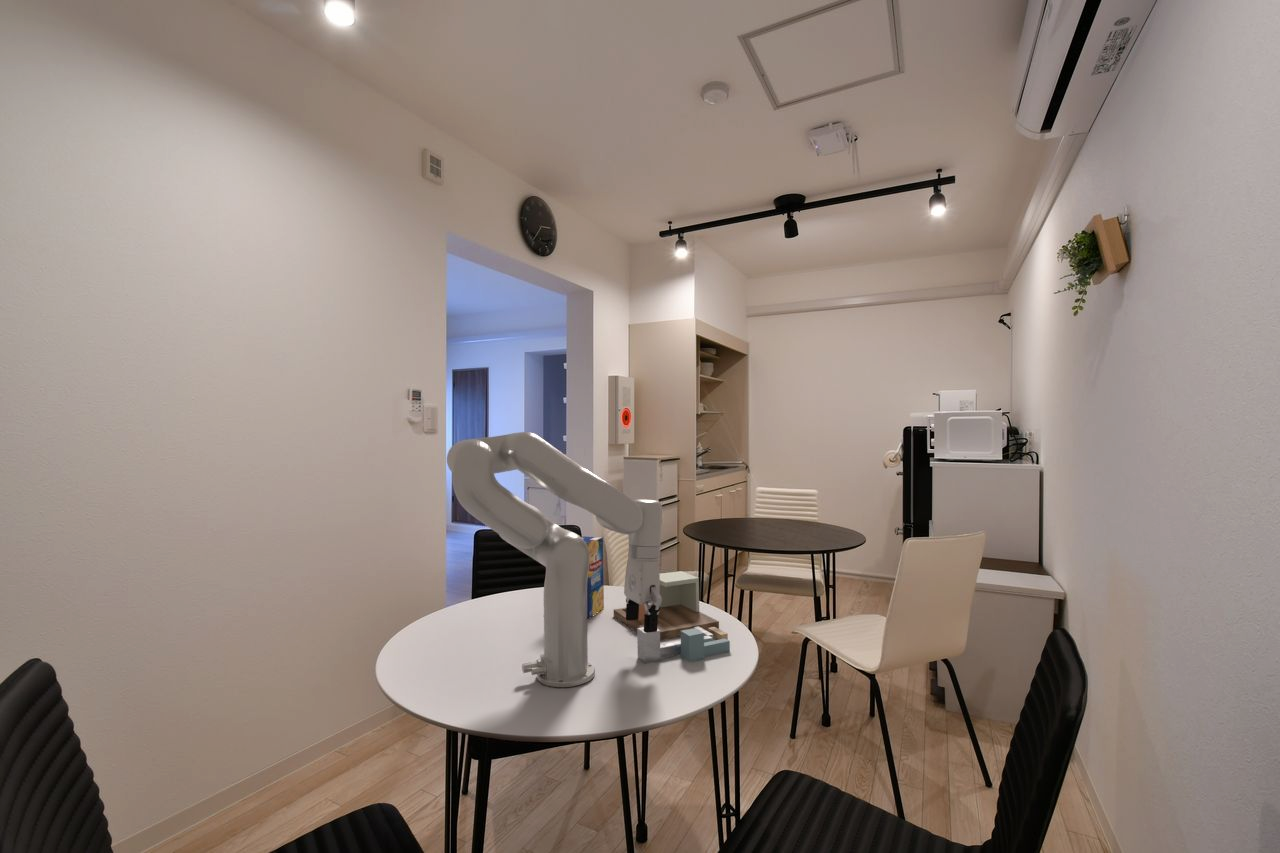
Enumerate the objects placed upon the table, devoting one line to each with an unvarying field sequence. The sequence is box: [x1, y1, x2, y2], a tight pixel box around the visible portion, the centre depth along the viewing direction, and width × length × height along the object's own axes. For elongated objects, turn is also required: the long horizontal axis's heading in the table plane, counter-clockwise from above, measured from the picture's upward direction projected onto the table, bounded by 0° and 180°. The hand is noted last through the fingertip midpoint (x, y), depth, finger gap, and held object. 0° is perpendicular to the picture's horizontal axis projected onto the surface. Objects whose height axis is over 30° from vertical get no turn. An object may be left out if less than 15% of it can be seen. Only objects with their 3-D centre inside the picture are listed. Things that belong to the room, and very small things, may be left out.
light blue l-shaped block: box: [680, 628, 731, 663], centre depth 134 cm, size 12×4×6 cm, turn 116°
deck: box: [613, 604, 720, 641], centre depth 158 cm, size 21×24×2 cm
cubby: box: [659, 570, 700, 612], centre depth 164 cm, size 11×10×10 cm
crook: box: [636, 626, 714, 665], centre depth 138 cm, size 21×10×7 cm, turn 116°
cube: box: [638, 600, 652, 620], centre depth 158 cm, size 5×5×5 cm
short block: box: [708, 627, 729, 641], centre depth 144 cm, size 6×2×2 cm, turn 26°
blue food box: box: [580, 536, 605, 620], centre depth 169 cm, size 7×11×22 cm, turn 159°
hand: (640, 625), depth 131 cm, fingers open, 9 cm apart
